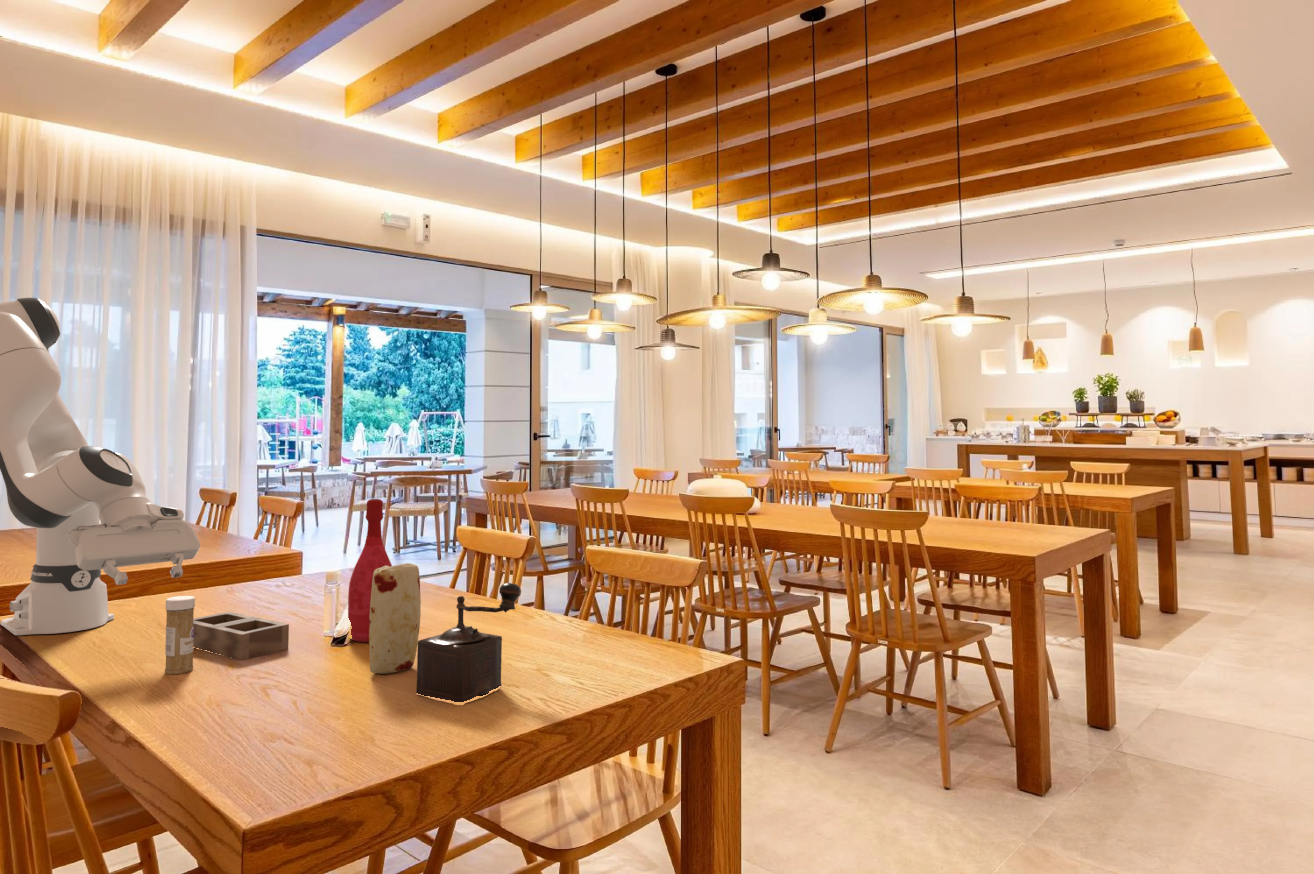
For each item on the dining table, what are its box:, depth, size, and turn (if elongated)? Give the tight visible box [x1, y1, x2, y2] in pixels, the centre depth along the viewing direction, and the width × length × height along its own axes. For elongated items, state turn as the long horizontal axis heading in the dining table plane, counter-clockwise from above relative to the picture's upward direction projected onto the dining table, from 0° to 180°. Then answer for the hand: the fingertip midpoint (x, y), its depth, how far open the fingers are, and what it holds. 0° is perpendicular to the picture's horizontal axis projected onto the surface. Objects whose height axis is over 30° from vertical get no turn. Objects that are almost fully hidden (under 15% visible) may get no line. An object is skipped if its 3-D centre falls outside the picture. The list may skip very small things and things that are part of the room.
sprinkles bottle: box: [164, 595, 196, 675], centre depth 141 cm, size 5×5×13 cm
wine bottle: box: [347, 498, 393, 643], centre depth 167 cm, size 10×10×30 cm
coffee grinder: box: [415, 582, 522, 702], centre depth 135 cm, size 16×11×18 cm
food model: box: [368, 562, 422, 675], centre depth 144 cm, size 10×7×20 cm
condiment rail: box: [193, 611, 290, 661], centre depth 157 cm, size 20×10×5 cm, turn 61°
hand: (150, 578), depth 146 cm, fingers open, 8 cm apart
